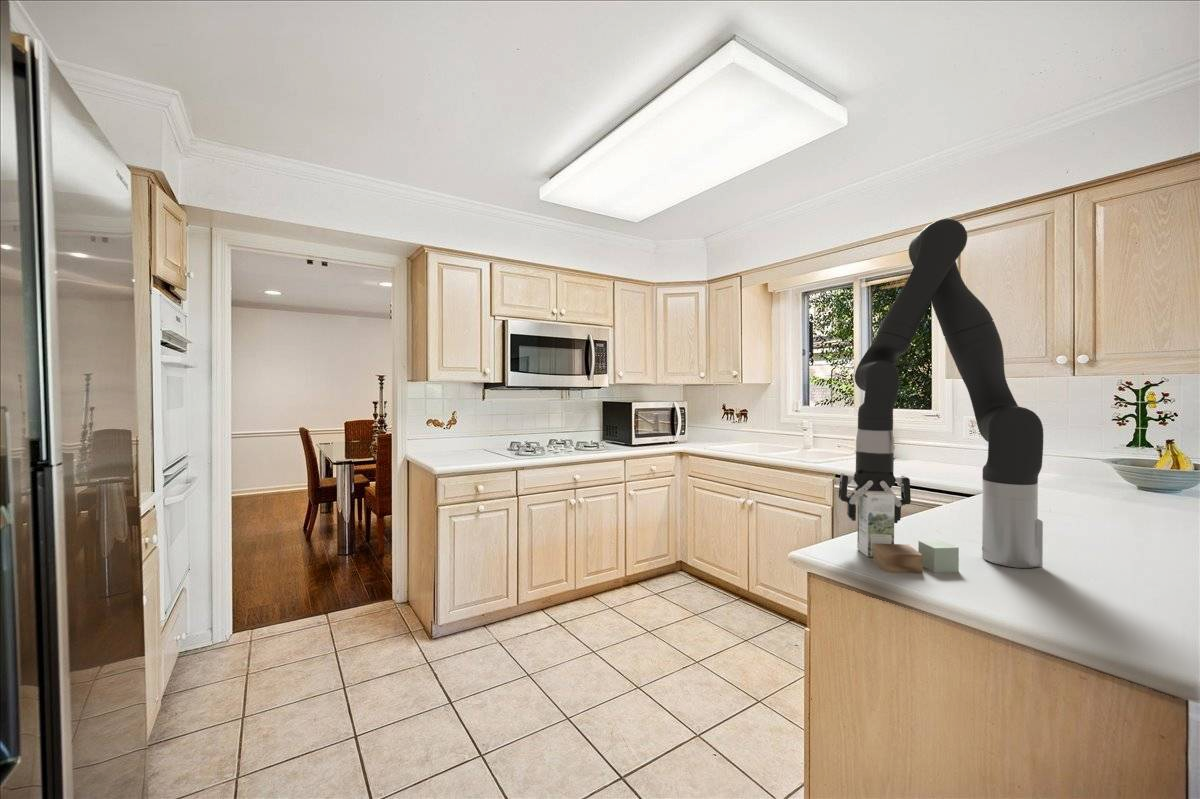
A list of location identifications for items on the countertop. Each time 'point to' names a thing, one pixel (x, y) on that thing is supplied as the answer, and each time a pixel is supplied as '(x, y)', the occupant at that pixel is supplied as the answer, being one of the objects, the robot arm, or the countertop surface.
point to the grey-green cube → (939, 556)
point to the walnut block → (898, 558)
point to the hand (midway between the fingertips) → (873, 521)
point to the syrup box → (875, 520)
